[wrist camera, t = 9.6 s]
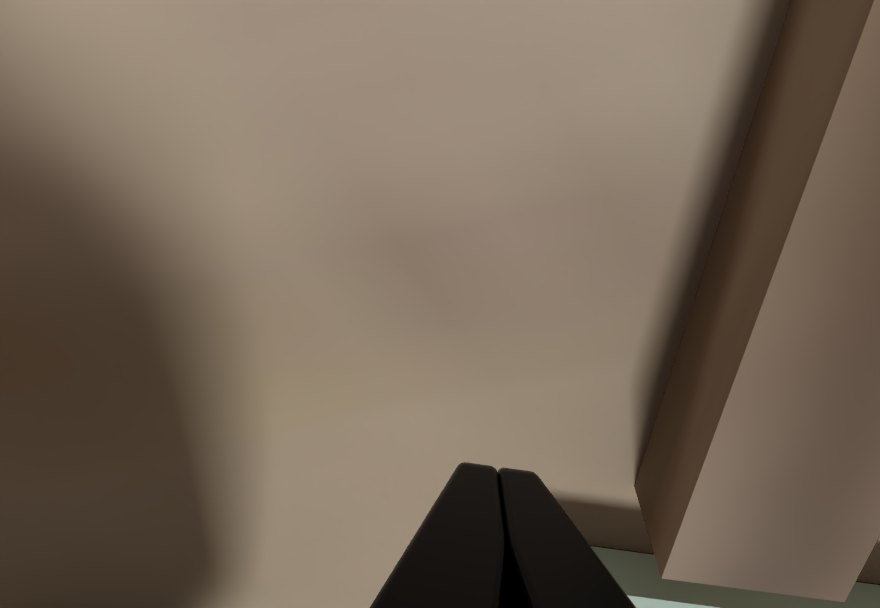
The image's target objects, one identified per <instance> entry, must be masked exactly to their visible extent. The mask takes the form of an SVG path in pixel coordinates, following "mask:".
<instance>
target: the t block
mask: <svg viewBox="0 0 880 608" xmlns="http://www.w3.org/2000/svg"><path fill="white" fill-rule="evenodd" d="M634 487H635V490H636V494H637V497H638V500H639V504H640V507H641V511H642V514H643V517H644V521H645V524H646V528H647V531H648V535H649V538H650V541H651V545H652V548H653V552H654V555H655V558H656V562H657V565H658V569H659V572H660V576H661V578H662V579H669V580H677V581H685V582H692V583H700V584H708V585H715V586H723V587H731V588H738V589H746V590H754V591H762V592H769V593H777V594H785V595H792V596H800V597H808V598H815V599H823V600H831V601H838V602H845V601H846V599H847V597H848V595H849V593H850V591H851V589H852V587H853V585H854V584H855V582H856V580H857V578H858V576H859V574H860V572H861V570H862V568H863V566H864V565H865V563H866V561H867V559H868V557H869V555H870V553H871V551H872V549H873V547H874V546H875V544H876V542H877V540H878V538H879V536H880V0H791V2H790V5H789V8H788V11H787V14H786V17H785V20H784V24H783V27H782V30H781V33H780V36H779V39H778V42H777V45H776V48H775V51H774V55H773V58H772V61H771V64H770V67H769V70H768V73H767V76H766V79H765V82H764V86H763V89H762V92H761V95H760V98H759V101H758V104H757V107H756V110H755V113H754V117H753V120H752V123H751V126H750V129H749V132H748V135H747V138H746V141H745V144H744V148H743V151H742V154H741V157H740V160H739V163H738V166H737V169H736V172H735V175H734V179H733V182H732V185H731V188H730V191H729V194H728V197H727V200H726V203H725V206H724V210H723V213H722V216H721V219H720V222H719V225H718V228H717V231H716V234H715V237H714V241H713V244H712V247H711V250H710V253H709V256H708V259H707V262H706V265H705V268H704V272H703V275H702V278H701V281H700V284H699V287H698V290H697V293H696V296H695V299H694V303H693V306H692V309H691V312H690V315H689V318H688V321H687V324H686V327H685V330H684V334H683V337H682V340H681V343H680V346H679V349H678V352H677V355H676V358H675V361H674V365H673V368H672V371H671V374H670V377H669V380H668V383H667V386H666V389H665V392H664V396H663V399H662V402H661V405H660V408H659V411H658V414H657V417H656V420H655V423H654V427H653V430H652V433H651V436H650V439H649V442H648V445H647V448H646V451H645V454H644V458H643V461H642V464H641V467H640V470H639V473H638V476H637V479H636V482H635V485H634Z"/></svg>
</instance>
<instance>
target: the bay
mask: <svg viewBox="0 0 880 608" xmlns="http://www.w3.org/2000/svg"><path fill="white" fill-rule="evenodd" d="M591 548H592V549H593V550H594V552H595V553H596V554H597V556H598V557H599V558H600V560H601V561H602V562H603V564H604V565H605V566H606V568H607V569H608V570H609V572H610V573H611V574H612V576H613V577H614V578H615V580H616V581H617V583H618V584H619V585H620V587H621V588H622V589H623V591H624V592H625V593H626V595H627V596H628V597H629V599H630V600H631V601H632V603H633V604H634V605H635V607H636V608H880V585H875V584H867V583H860V582H855V584H854V585H853V587H852V589H851V591H850V593H849V595H848V597H847V599H846V601H845V602H838V601H831V600H823V599H815V598H808V597H800V596H792V595H785V594H777V593H769V592H762V591H754V590H746V589H738V588H731V587H723V586H715V585H708V584H700V583H692V582H685V581H677V580H669V579H662V578H661V576H660V572H659V569H658V565H657V562H656V558H655V555H652V554H645V553H637V552H630V551H622V550H615V549H607V548H600V547H593V546H591Z"/></svg>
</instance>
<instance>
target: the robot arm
mask: <svg viewBox="0 0 880 608" xmlns="http://www.w3.org/2000/svg"><path fill="white" fill-rule="evenodd" d="M370 608H636V607H635V605H634V604H633V603H632V601H631V600H630V599H629V597H628V596H627V595H626V593H625V592H624V591H623V589H622V588H621V587H620V585H619V584H618V583H617V581H616V580H615V578H614V577H613V576H612V574H611V573H610V572H609V570H608V569H607V568H606V566H605V565H604V564H603V562H602V561H601V560H600V558H599V557H598V556H597V554H596V553H595V552H594V550H593V549H592V548H591V546H590V545H589V544H588V542H587V541H586V540H585V538H584V537H583V536H582V534H581V533H580V532H579V530H578V529H577V528H576V526H575V525H574V524H573V522H572V521H571V520H570V518H569V517H568V515H567V514H566V513H565V511H564V510H563V509H562V507H561V506H560V505H559V503H558V502H557V501H556V499H555V498H554V497H553V495H552V494H551V493H550V491H549V490H548V489H547V487H546V486H545V485H544V483H543V482H542V481H541V479H540V478H539V477H538V476H537V475H536V474H535V473H534V472H531V471H524V470H517V469H509V468H501V469H499V471H498V472H497V471H496V469H495V468H494V467H492V466H488V465H481V464H473V463H466V462H464V463H461V464H459V465H458V466H457V468H456V470H455V471H454V473H453V474H452V476H451V478H450V479H449V481H448V482H447V484H446V486H445V487H444V489H443V490H442V492H441V494H440V495H439V497H438V499H437V500H436V502H435V503H434V505H433V507H432V508H431V510H430V511H429V513H428V515H427V516H426V518H425V520H424V521H423V523H422V524H421V526H420V528H419V529H418V531H417V532H416V534H415V536H414V537H413V539H412V540H411V542H410V544H409V545H408V547H407V549H406V550H405V552H404V553H403V555H402V557H401V558H400V560H399V561H398V563H397V565H396V566H395V568H394V570H393V571H392V573H391V574H390V576H389V578H388V579H387V581H386V582H385V584H384V586H383V587H382V589H381V590H380V592H379V594H378V595H377V597H376V599H375V600H374V602H373V603H372V605H371V607H370Z"/></svg>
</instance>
